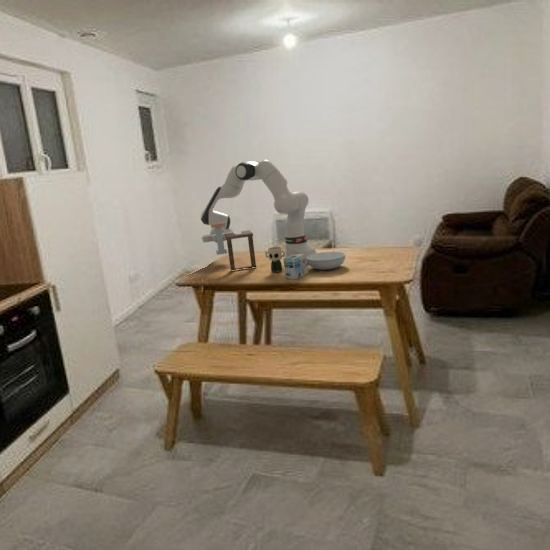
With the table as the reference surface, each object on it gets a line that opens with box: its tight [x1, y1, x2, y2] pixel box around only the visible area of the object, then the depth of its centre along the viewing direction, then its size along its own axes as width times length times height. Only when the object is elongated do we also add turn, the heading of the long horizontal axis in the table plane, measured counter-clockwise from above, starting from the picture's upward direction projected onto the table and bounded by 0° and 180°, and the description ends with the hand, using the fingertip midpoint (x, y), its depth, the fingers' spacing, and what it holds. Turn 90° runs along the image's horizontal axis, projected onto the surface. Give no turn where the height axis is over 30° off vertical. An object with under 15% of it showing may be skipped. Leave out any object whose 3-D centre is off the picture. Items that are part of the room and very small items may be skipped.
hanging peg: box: [210, 222, 228, 255], centre depth 292 cm, size 8×8×18 cm
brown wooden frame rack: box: [224, 229, 257, 271], centre depth 281 cm, size 14×15×20 cm
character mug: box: [264, 246, 285, 273], centre depth 264 cm, size 11×7×13 cm, turn 73°
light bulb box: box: [282, 254, 308, 280], centre depth 249 cm, size 11×7×11 cm, turn 143°
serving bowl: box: [306, 251, 346, 271], centre depth 260 cm, size 21×21×7 cm
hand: (219, 238), depth 291 cm, fingers closed on hanging peg, 4 cm apart
